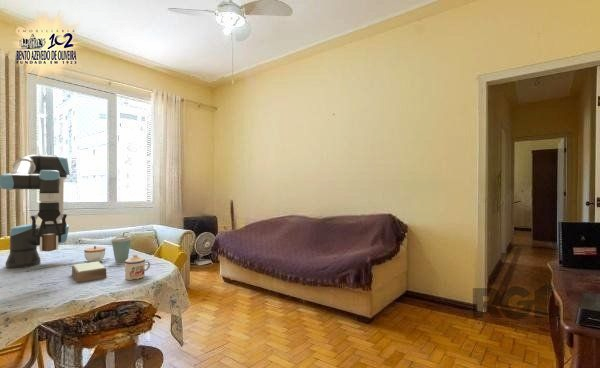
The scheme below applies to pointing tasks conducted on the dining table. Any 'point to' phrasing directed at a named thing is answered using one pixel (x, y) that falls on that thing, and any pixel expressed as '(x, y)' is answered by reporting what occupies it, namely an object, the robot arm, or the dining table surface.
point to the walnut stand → (88, 271)
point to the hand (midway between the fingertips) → (48, 250)
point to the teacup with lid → (135, 267)
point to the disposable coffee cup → (121, 248)
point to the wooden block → (48, 242)
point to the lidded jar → (94, 254)
